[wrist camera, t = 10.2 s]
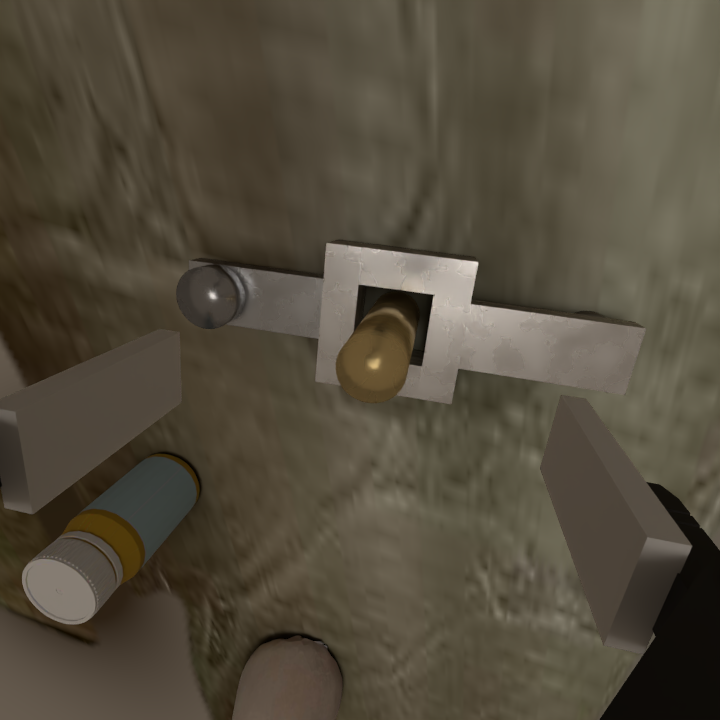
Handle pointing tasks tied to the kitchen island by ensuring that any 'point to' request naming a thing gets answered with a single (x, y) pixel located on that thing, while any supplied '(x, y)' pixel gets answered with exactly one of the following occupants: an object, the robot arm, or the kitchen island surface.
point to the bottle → (111, 539)
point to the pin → (379, 350)
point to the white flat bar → (446, 324)
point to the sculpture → (289, 682)
